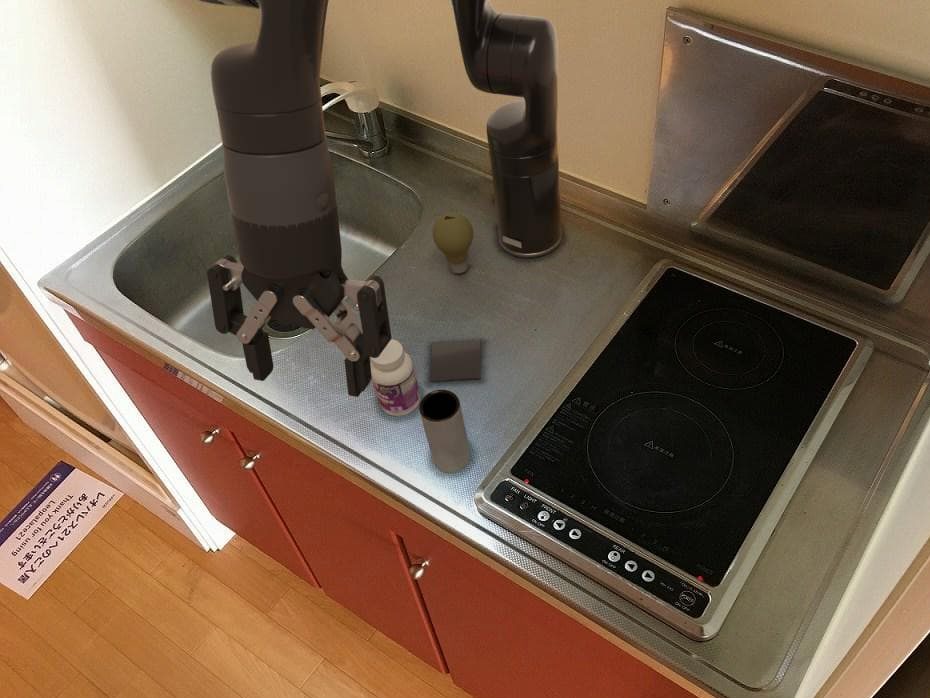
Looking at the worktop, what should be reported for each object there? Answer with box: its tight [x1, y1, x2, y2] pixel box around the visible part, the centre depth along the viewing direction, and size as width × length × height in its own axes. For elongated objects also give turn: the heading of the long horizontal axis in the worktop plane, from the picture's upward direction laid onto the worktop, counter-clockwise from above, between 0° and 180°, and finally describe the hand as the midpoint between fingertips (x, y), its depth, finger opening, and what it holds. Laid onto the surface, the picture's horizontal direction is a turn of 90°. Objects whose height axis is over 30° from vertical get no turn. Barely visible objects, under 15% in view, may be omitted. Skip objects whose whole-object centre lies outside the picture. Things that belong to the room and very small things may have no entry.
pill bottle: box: [370, 338, 422, 417], centre depth 100 cm, size 5×5×10 cm
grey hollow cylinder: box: [418, 389, 472, 474], centre depth 94 cm, size 4×4×10 cm
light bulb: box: [432, 211, 474, 274], centre depth 114 cm, size 6×6×10 cm
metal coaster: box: [429, 339, 482, 383], centre depth 107 cm, size 6×6×1 cm
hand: (310, 383), depth 69 cm, fingers open, 8 cm apart
